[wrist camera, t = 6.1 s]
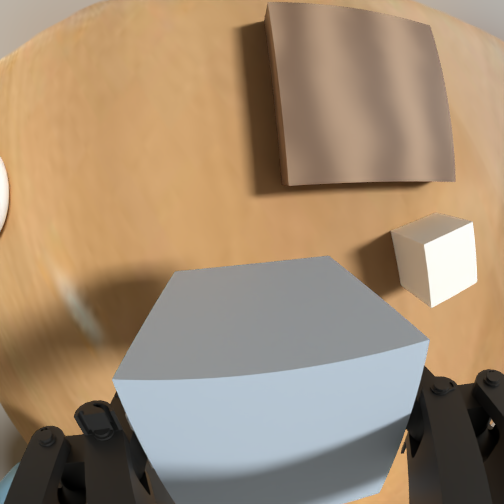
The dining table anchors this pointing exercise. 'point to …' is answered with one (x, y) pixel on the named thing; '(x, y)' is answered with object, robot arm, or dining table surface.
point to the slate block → (271, 384)
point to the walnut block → (357, 96)
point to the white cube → (436, 257)
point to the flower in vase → (3, 193)
